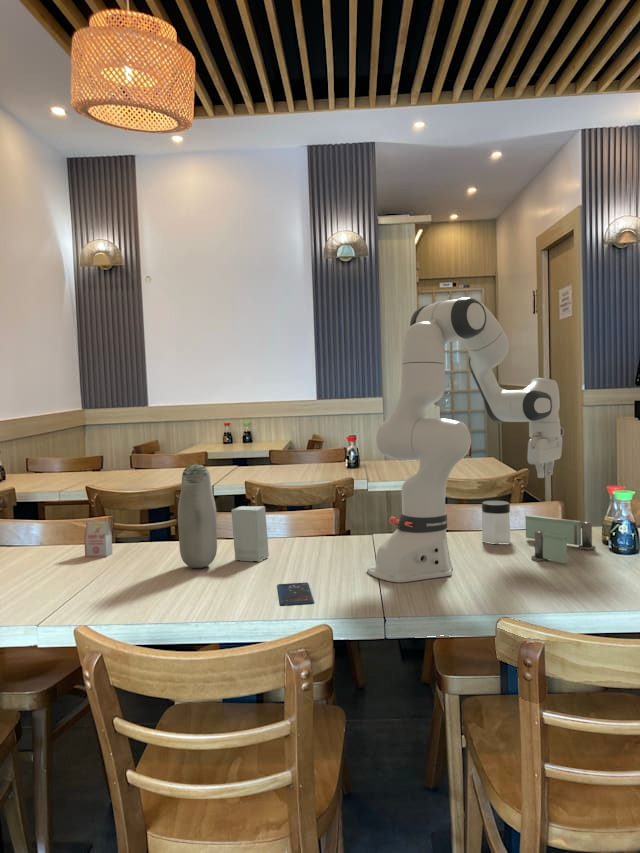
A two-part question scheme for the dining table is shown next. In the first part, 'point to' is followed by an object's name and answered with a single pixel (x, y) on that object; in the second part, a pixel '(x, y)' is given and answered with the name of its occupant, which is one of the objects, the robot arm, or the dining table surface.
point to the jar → (496, 522)
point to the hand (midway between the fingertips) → (545, 476)
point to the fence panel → (554, 547)
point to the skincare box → (250, 533)
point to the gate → (554, 527)
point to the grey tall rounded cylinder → (197, 518)
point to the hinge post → (587, 536)
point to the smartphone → (294, 594)
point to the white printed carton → (98, 539)
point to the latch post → (538, 547)
